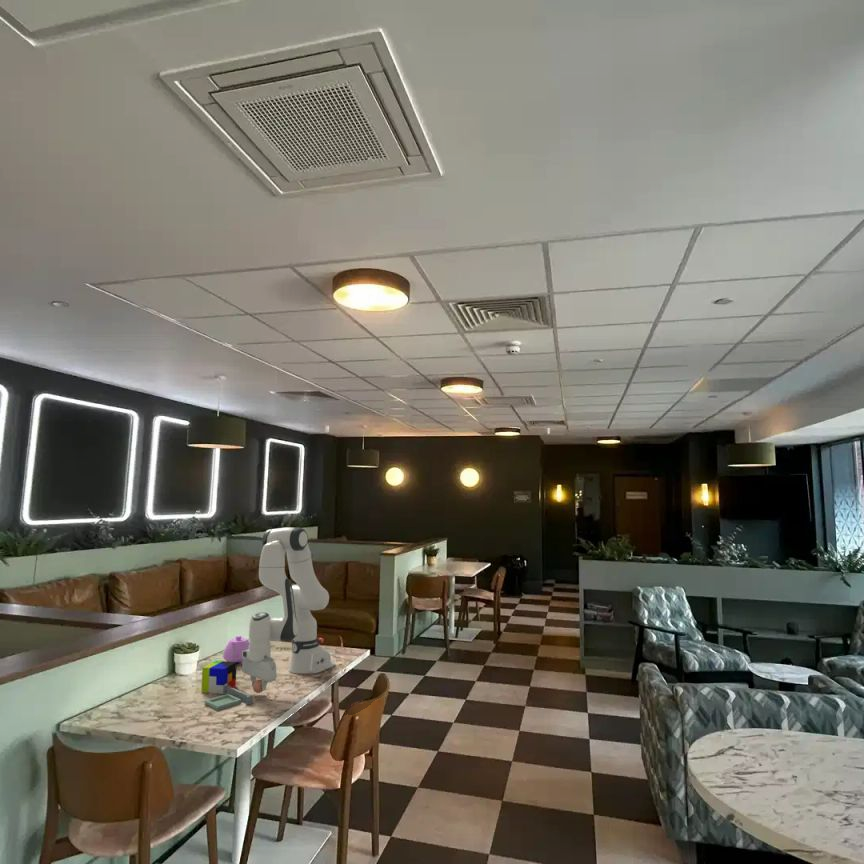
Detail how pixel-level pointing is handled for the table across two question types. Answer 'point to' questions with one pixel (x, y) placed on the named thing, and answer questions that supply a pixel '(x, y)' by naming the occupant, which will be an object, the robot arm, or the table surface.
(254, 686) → the ball
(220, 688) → the puzzle toy
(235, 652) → the teapot
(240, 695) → the bar with end supports
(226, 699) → the dish
